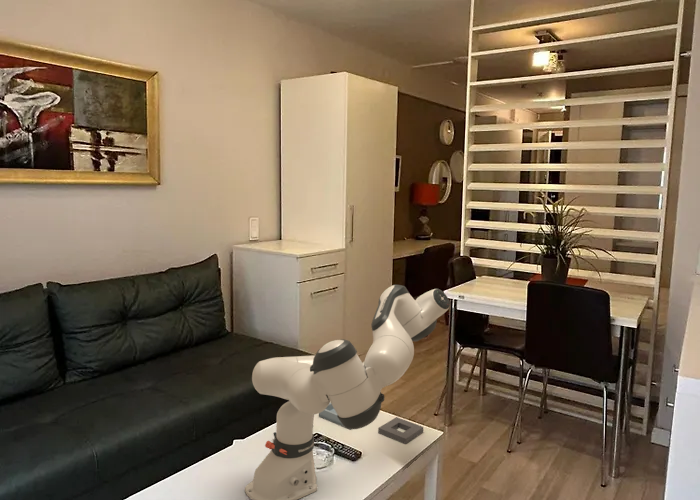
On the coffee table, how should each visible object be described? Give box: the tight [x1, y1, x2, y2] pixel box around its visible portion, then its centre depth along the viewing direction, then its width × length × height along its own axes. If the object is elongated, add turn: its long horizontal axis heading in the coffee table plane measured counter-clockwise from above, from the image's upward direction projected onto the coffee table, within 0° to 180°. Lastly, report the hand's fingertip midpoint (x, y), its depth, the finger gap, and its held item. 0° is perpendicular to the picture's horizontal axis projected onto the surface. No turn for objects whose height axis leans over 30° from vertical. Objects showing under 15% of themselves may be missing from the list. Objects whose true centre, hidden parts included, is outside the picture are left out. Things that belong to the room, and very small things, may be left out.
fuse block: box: [377, 416, 424, 445], centre depth 192 cm, size 12×12×2 cm
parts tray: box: [318, 402, 352, 431], centre depth 203 cm, size 16×16×4 cm
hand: (391, 330), depth 181 cm, fingers open, 8 cm apart
